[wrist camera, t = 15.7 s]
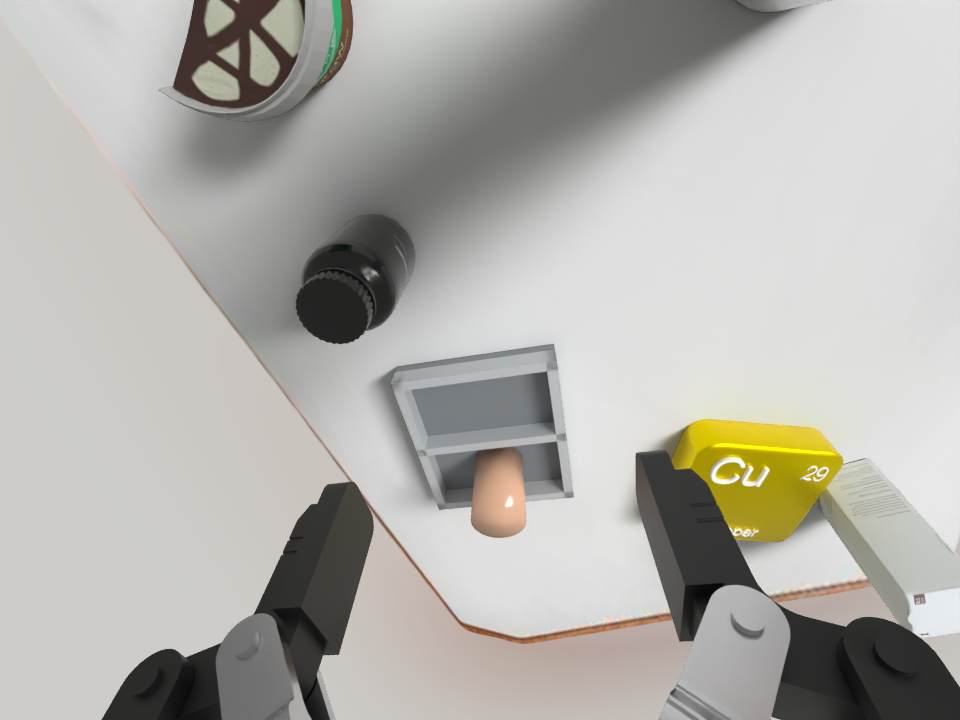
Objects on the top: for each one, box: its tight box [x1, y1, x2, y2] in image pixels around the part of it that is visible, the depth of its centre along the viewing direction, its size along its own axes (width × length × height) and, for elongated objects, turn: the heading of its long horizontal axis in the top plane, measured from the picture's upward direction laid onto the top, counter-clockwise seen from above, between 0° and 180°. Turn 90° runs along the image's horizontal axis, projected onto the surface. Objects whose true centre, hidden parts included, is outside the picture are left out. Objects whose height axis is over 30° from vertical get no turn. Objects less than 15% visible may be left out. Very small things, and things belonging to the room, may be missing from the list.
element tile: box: [671, 419, 843, 542], centre depth 49 cm, size 15×15×5 cm
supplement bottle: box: [296, 214, 415, 344], centre depth 33 cm, size 7×7×12 cm
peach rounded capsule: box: [471, 447, 526, 538], centre depth 47 cm, size 6×6×8 cm
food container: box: [159, 0, 353, 122], centre depth 26 cm, size 12×6×10 cm, turn 143°
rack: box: [391, 344, 574, 510], centre depth 47 cm, size 16×19×3 cm
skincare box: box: [819, 459, 960, 638], centre depth 45 cm, size 8×6×15 cm
